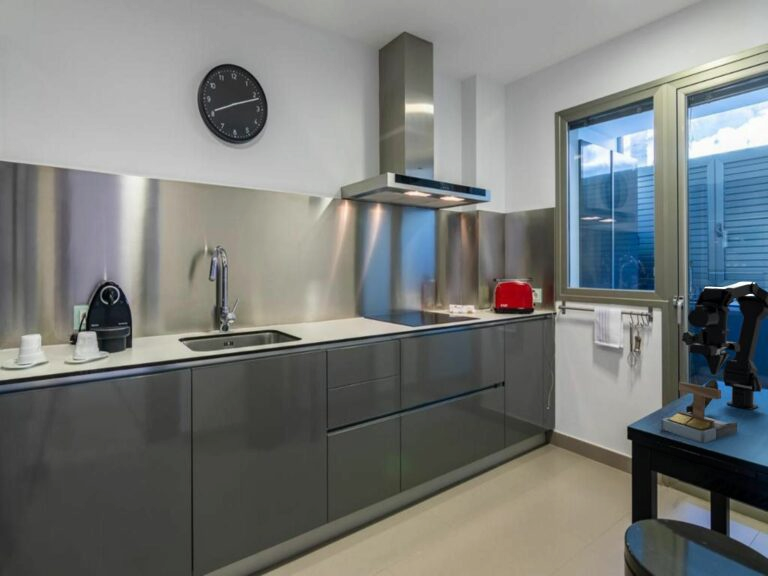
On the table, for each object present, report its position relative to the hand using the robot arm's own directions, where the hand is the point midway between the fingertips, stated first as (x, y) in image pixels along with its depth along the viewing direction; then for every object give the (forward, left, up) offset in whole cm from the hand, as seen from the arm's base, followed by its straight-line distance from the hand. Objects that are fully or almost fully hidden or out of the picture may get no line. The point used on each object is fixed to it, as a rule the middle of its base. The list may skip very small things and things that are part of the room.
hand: (713, 374), depth 134 cm
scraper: (+20, +6, -11) cm, 24 cm away
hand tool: (+2, -1, -10) cm, 10 cm away
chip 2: (+23, +8, -12) cm, 28 cm away
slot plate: (+16, +6, -13) cm, 22 cm away
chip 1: (+23, +4, -12) cm, 27 cm away
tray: (+25, +6, -13) cm, 29 cm away
